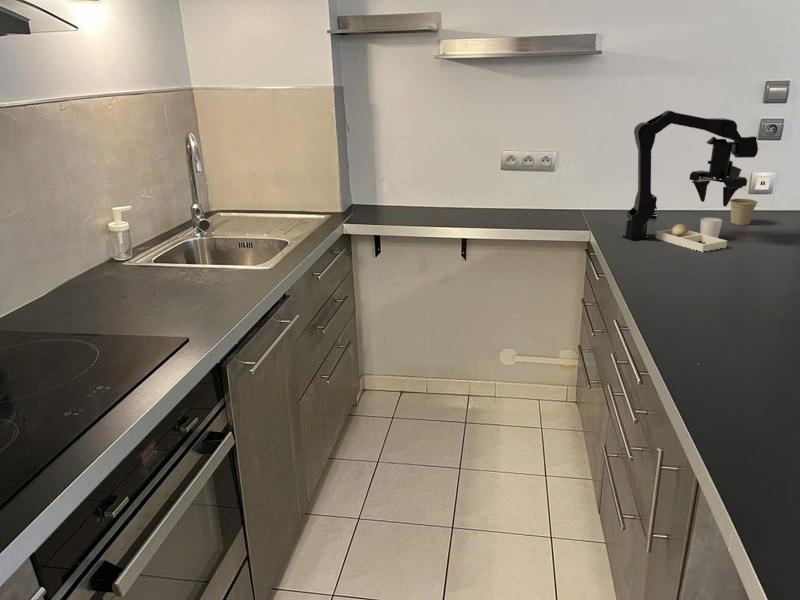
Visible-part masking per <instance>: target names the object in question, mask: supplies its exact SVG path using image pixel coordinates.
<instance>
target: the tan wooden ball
mask: <svg viewBox="0 0 800 600" xmlns="http://www.w3.org/2000/svg"><path fill="white" fill-rule="evenodd" d="M670 229H671V235H673V236H677V237H685V236H687V235H688V230H689V229H688V227H687V225H685V224H682V223H677V224H674V225H673V226H672V228H670Z"/></svg>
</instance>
